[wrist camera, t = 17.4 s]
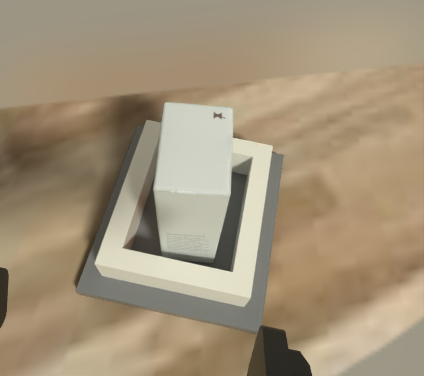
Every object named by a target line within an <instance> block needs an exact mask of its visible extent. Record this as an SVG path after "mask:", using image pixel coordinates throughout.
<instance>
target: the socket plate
mask: <svg viewBox="0 0 424 376" xmlns="http://www.w3.org/2000/svg"><path fill="white" fill-rule="evenodd" d="M160 126H161V123H160V122H156V121H151V120H146V123H145V126H143V125H137V128H136V131H135V133H134V136H133V139H132V141H131V144H130V147H129V149H128V152H127V155H126V157H125V160H124V163H123V165H122V168H121V171H120V173H119V176H118V179H117V181H116V184H115V187H114V189H113V192H112V195H111V198H110V200H109V203H108V206H107V208H106V211H105V214H104V216H103V219H102V222H101V224H100V227H99V230H98V232H97V235H96V238H95V240H94V243H93V246H92V248H91V251H90V254H89V256H88V259H87V262H86V264H85V267H84V270H83V272H82V275H81V278H80V280H79V283H78V286H77V288H76V292H77V293H78V294H80V295H84V296H89V297H93V298H98V299H102V300H107V301H111V302H116V303H120V304H125V305H129V306H134V307H138V308H143V309H147V310H152V311H156V312H161V313H165V314H170V315H174V316H179V317H183V318H188V319H192V320H197V321H201V322H206V323H210V324H215V325H219V326H224V327H228V328H233V329H237V330H242V331H246V332H251V333H255V334H258V330H259V327H260V326H261V325H262V320H263V312H264V304H265V296H266V289H267V281H268V273H269V265H270V257H271V249H272V241H273V233H274V225H275V218H276V210H277V202H278V194H279V186H280V178H281V170H282V162H283V155H281V154H276V153H272V148H273V146H270V145H266V144H261V143H256V142H251V141H246V140H242V139H237V138H233V154H232V171H231V195H230V198H229V202H228V206H227V211H226V215H225V219H224V223H223V227H222V231H221V235H220V239H219V243H218V247H217V251H216V255H215V259H214V262H213V263H208V262H195V261H182V260H174V259H170V258H165V257H162V253H161V246H160V238H159V231H158V223H157V215H156V207H155V199H154V191H153V185H154V178H155V170H156V162H157V153H158V145H159V134H160Z"/></svg>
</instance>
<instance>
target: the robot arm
mask: <svg viewBox="0 0 424 376" xmlns="http://www.w3.org/2000/svg"><path fill="white" fill-rule="evenodd" d="M7 296H8V271H7V269H5V268H1V267H0V328H1V326H2V324H3V322H4V320H5V317H6V313H7ZM247 376H312V373H311V369H310V365H309V364H308V362H307V361H306V359H305V358H304V357H303V355H302V354H301V352H300V351H296V350H291V349H288V344H287V338H286V333H285V330H281V329H276V328H272V327H267V326H263V325H261V326H260V327H259V330H258V334H257V337H256V341H255V345H254V349H253V352H252V356H251V360H250V364H249V368H248V373H247Z"/></svg>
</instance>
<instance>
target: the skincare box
mask: <svg viewBox="0 0 424 376" xmlns="http://www.w3.org/2000/svg"><path fill="white" fill-rule="evenodd" d="M232 154H233V108H232V107H222V106H209V105H198V104H186V103H171V102H165V103H164V108H163V114H162V119H161V126H160V134H159V145H158V153H157V162H156V170H155V178H154V185H153V191H154V199H155V207H156V215H157V223H158V231H159V238H160V246H161V253H162V257H165V258H170V259H174V260H182V261H195V262H208V263H213V262H214V259H215V255H216V251H217V247H218V243H219V239H220V235H221V231H222V227H223V223H224V219H225V215H226V211H227V206H228V202H229V198H230V195H231V171H232Z"/></svg>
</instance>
